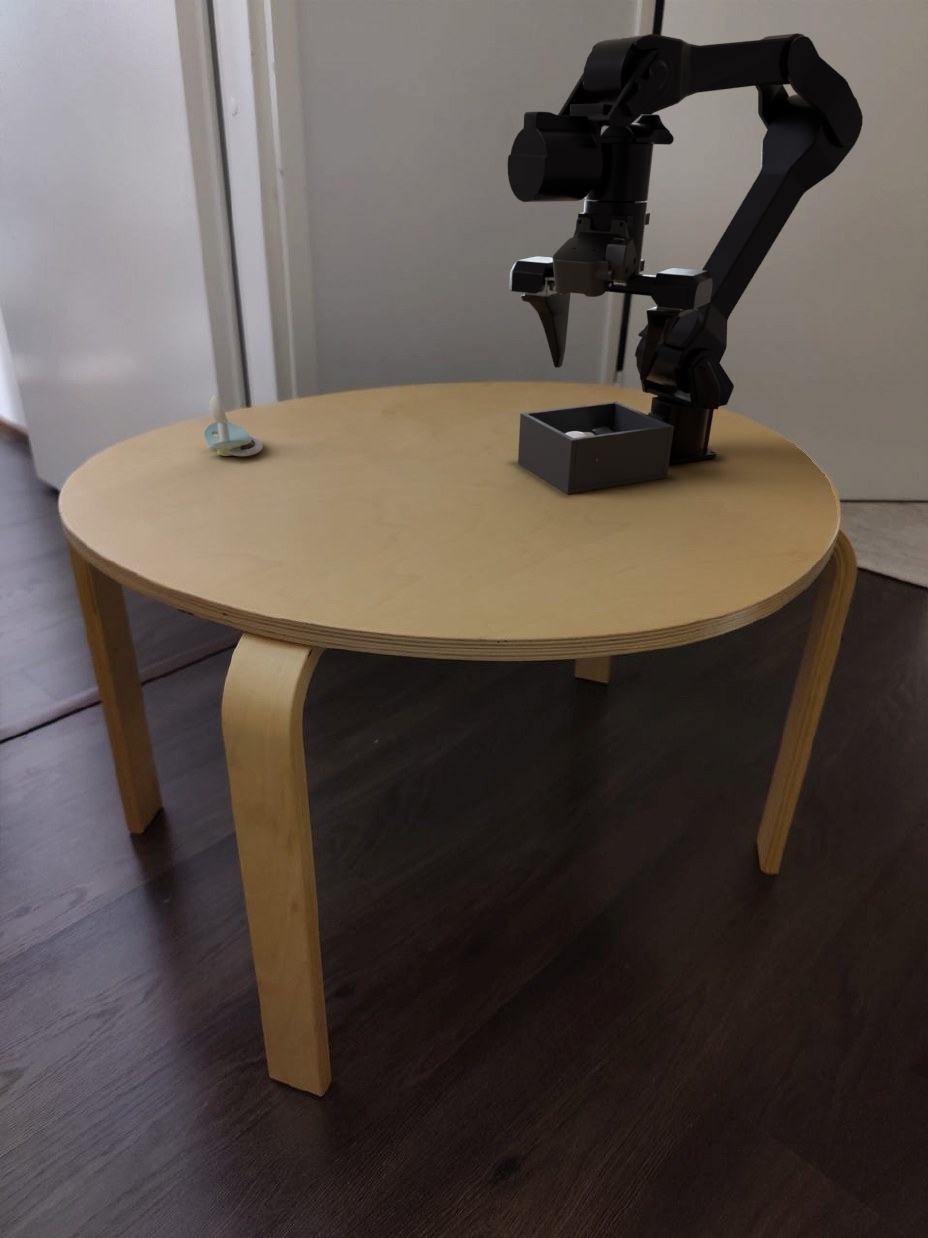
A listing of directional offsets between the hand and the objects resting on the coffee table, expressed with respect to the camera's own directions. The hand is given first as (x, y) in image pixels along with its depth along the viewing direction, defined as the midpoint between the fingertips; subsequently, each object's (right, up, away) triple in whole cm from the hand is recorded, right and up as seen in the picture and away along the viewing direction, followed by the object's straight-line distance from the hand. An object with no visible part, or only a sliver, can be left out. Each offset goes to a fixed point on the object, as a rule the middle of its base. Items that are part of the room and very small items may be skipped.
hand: (599, 372), depth 87 cm
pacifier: (-39, -6, +9) cm, 40 cm away
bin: (0, -9, +5) cm, 10 cm away
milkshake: (+2, -5, +7) cm, 9 cm away
